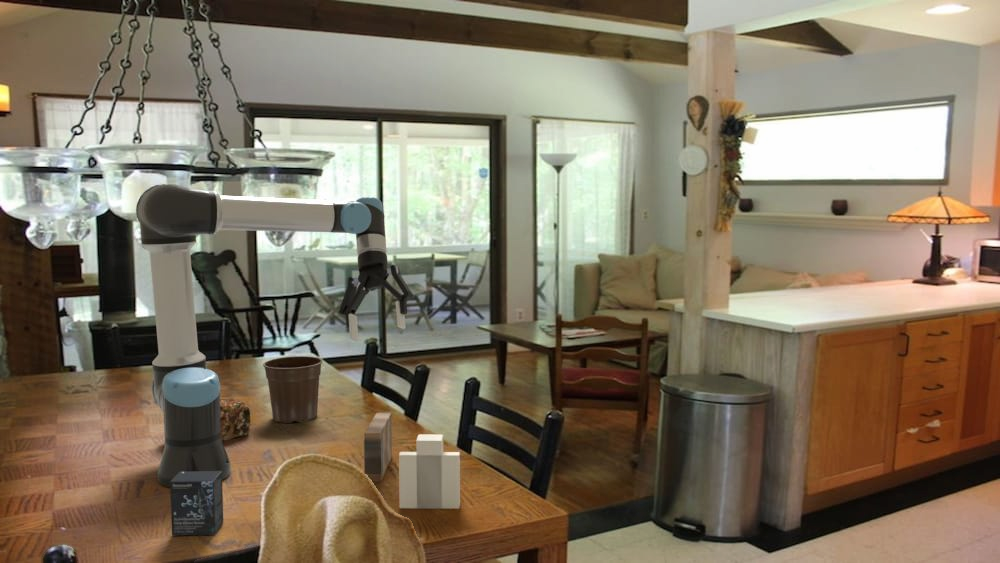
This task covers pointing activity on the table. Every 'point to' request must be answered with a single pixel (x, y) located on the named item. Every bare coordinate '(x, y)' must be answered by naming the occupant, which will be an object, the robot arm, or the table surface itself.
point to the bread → (234, 418)
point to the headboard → (429, 475)
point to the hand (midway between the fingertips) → (377, 333)
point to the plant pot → (293, 387)
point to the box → (196, 503)
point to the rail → (378, 446)
